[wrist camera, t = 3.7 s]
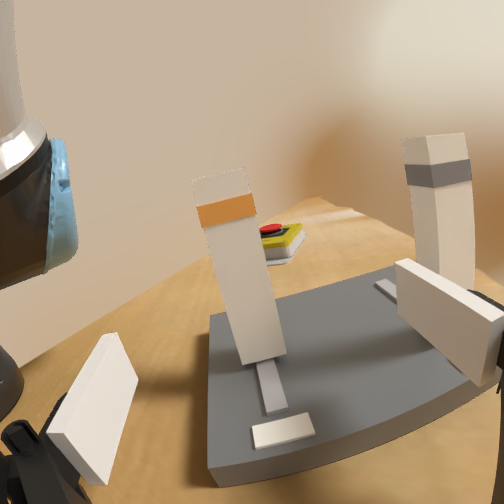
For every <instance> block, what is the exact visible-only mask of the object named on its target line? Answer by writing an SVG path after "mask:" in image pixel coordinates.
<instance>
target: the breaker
mask: <svg viewBox="0 0 504 504" xmlns="http://www.w3.org/2000/svg"><path fill="white" fill-rule="evenodd" d="M401 141H402V146H403V151H404V157H405V163H406V164H405V170H406V177H407V183H408V185H409V189H410V196H411V205H412V213H413V222H414V234H415V247H416V263H418V264H420V265H422V266H424V267H425V268H427V269H429V270H431V271H433V272H435V273H437V274H438V275H440V276H442V277H444V278H446V279H448V280H449V281H451V282H453V283H455V284H457V285H458V286H460V287H462V288H464V289H465V290H467V289H469V290H473V291H474V277H475V229H474V208H473V195H472V184H471V180H472V174H471V166H470V160H469V159H468V152H467V147H466V140H465V134H464V133H454V134H441V135H431V136H422V137H413V138H405V139H401Z"/></svg>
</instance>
